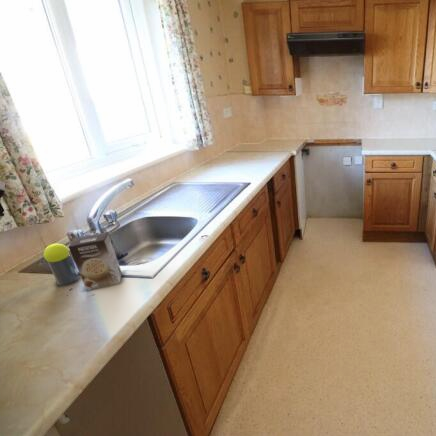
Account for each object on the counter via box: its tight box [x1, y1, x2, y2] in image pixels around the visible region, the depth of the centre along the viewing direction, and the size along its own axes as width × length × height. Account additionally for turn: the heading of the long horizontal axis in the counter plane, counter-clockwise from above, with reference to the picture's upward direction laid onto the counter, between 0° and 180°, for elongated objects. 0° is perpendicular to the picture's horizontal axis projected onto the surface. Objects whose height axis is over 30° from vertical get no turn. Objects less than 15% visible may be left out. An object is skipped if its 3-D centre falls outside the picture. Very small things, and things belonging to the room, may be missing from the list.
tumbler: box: [46, 253, 81, 287], centre depth 101 cm, size 6×6×9 cm
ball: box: [43, 242, 70, 263], centre depth 99 cm, size 6×6×6 cm
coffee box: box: [68, 231, 123, 291], centre depth 98 cm, size 9×6×16 cm
